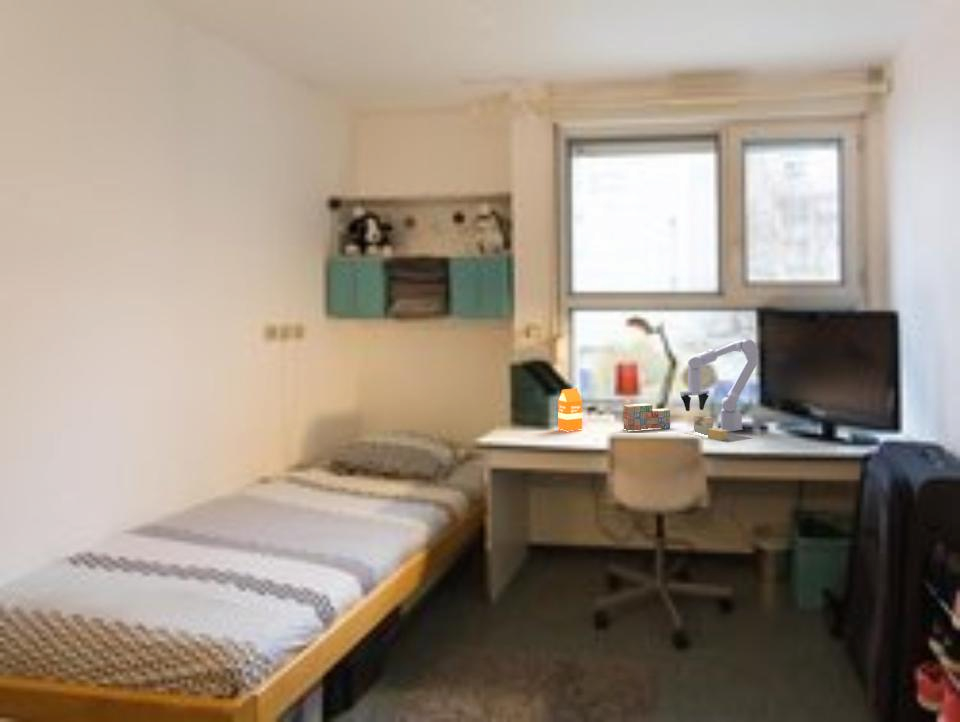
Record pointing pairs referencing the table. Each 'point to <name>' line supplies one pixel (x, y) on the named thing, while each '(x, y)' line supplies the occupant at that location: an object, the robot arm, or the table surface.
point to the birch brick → (703, 420)
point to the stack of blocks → (645, 417)
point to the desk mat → (733, 438)
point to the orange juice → (570, 410)
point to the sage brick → (702, 429)
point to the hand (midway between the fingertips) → (694, 410)
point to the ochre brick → (717, 434)
